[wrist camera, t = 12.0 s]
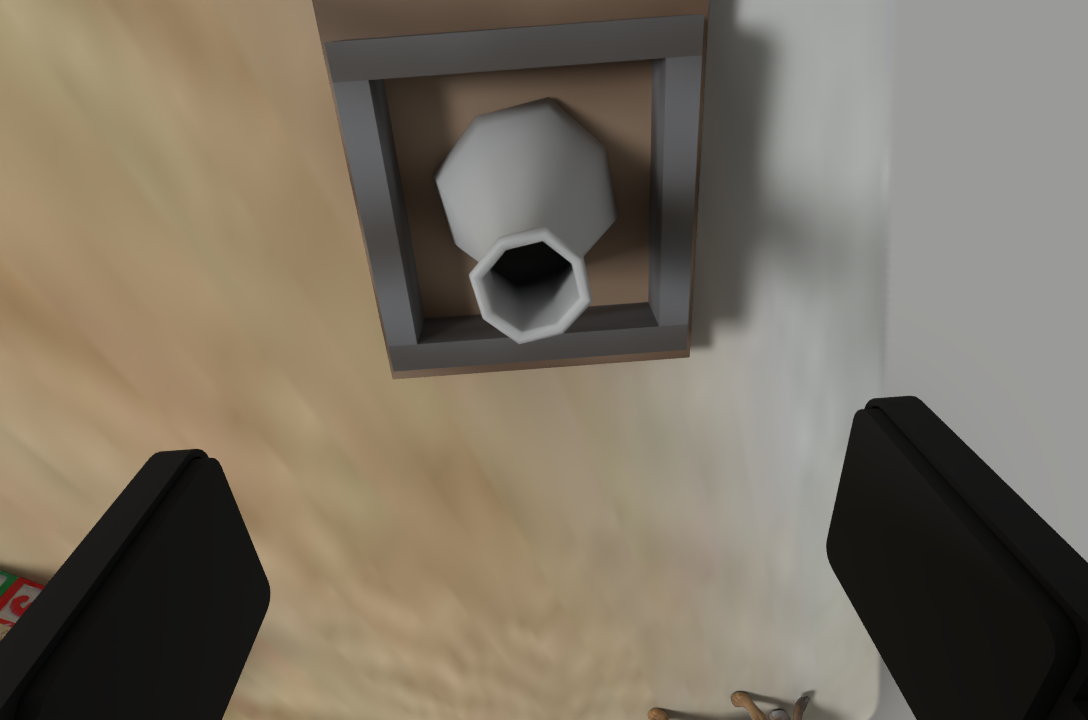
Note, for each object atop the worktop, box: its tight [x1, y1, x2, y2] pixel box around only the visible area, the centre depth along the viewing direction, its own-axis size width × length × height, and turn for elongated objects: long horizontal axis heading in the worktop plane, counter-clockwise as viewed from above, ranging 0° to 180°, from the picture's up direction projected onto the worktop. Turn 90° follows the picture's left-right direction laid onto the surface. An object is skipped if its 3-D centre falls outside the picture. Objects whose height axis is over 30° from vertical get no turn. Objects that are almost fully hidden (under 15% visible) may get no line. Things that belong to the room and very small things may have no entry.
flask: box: [433, 97, 618, 344], centre depth 21 cm, size 7×7×10 cm
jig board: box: [312, 0, 709, 379], centre depth 25 cm, size 16×14×4 cm
